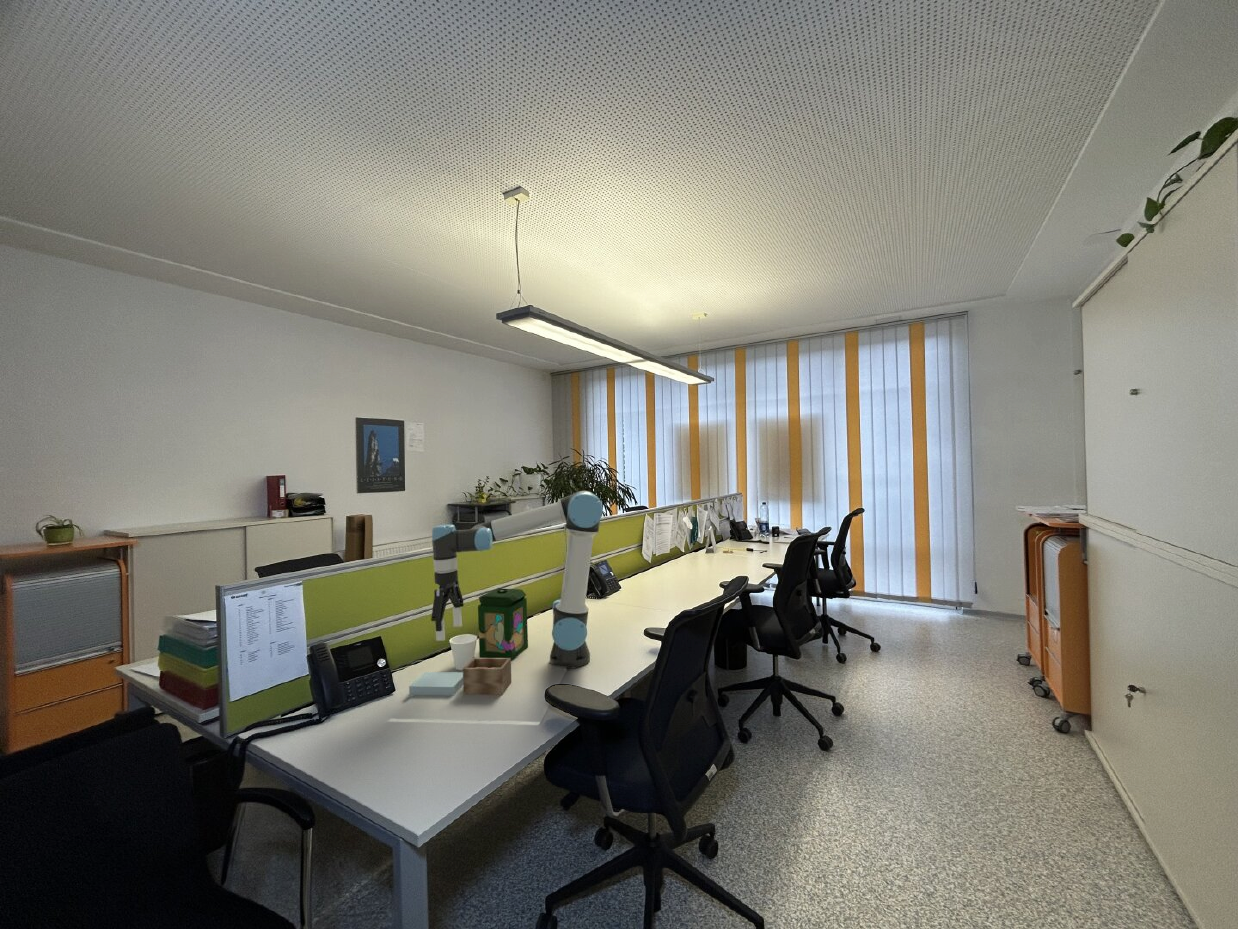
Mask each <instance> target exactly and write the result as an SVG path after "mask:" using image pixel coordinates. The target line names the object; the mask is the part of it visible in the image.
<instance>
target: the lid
mask: <svg viewBox="0 0 1238 929" xmlns="http://www.w3.org/2000/svg"><path fill="white" fill-rule="evenodd" d="M462 687H463V671H462V672H461V671H459V672H457V671H454V672H452V671H451V672H449V671H445V672H444V671H425V672H423V674H421V676H419V677H418V678H417V679H416V680H415V681H414V682H412V683H411V684H409V686H408V688H409V689H408V693H409V694H408V695H409V696H408V697H409V698H413V697H414V696H455V694H457V693H458V691H459V690H460V689H461V688H462Z"/></svg>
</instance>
